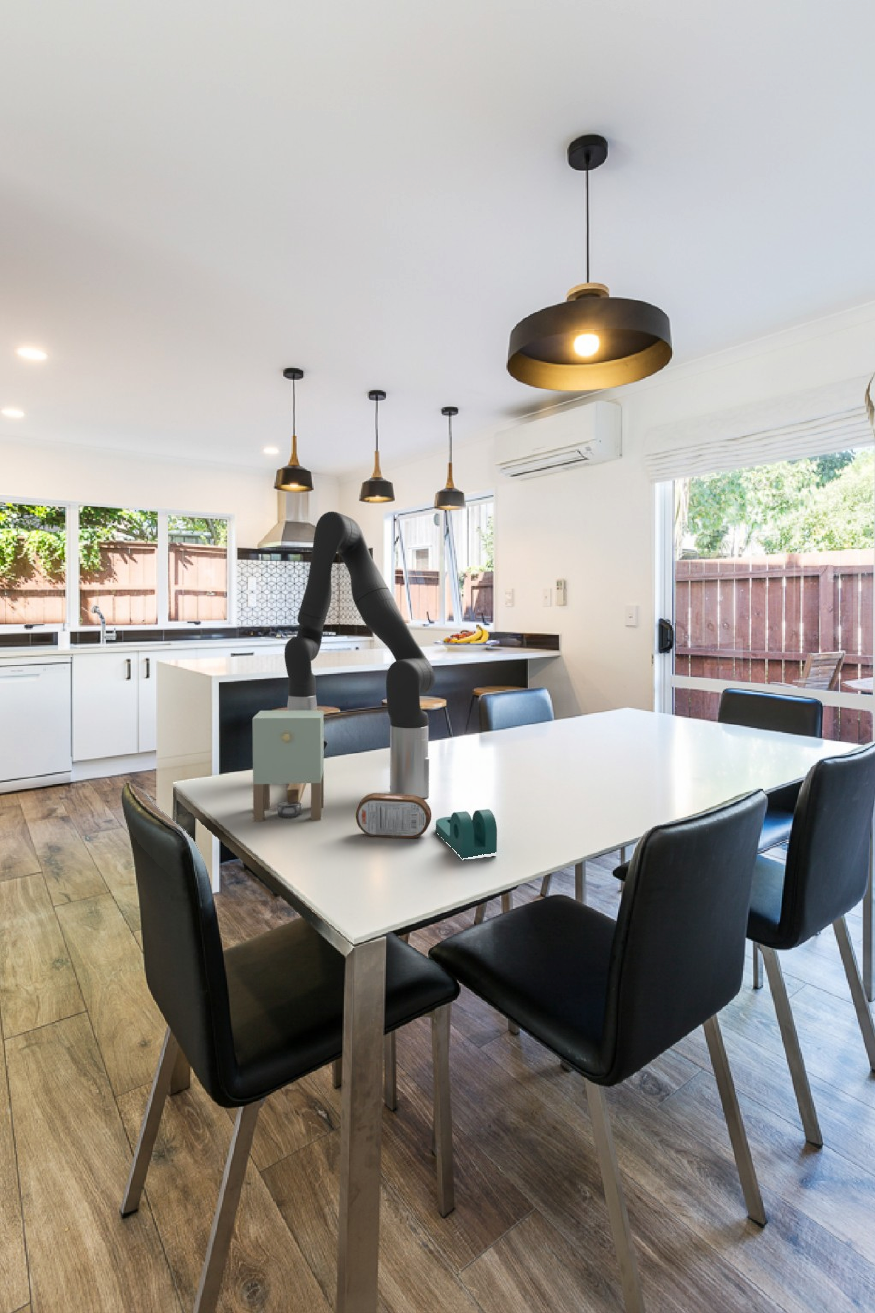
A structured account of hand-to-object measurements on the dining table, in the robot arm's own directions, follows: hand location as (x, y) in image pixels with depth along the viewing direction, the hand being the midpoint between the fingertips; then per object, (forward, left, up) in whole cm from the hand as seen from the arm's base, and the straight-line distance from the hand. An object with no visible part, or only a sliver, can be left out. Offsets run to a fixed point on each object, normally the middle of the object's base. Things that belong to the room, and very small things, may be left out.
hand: (302, 777), depth 167 cm
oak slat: (0, +10, -1) cm, 10 cm away
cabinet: (0, +27, -1) cm, 27 cm away
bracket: (-35, +47, -1) cm, 59 cm away
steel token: (0, +28, -1) cm, 28 cm away
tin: (-22, +43, -1) cm, 49 cm away
